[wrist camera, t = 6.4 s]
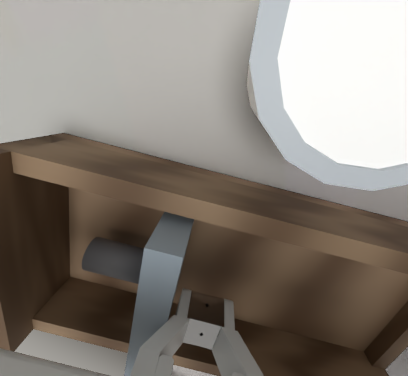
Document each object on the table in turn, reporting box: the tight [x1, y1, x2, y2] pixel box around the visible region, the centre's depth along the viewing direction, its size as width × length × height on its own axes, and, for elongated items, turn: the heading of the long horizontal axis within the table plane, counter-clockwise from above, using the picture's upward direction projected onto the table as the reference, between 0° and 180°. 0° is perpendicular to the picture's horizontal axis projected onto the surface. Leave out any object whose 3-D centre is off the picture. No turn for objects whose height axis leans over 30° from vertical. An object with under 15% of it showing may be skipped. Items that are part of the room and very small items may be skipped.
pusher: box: [82, 212, 194, 376], centre depth 12 cm, size 6×9×5 cm, turn 166°
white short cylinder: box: [247, 0, 408, 191], centre depth 8 cm, size 7×7×7 cm
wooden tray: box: [0, 133, 408, 376], centre depth 13 cm, size 26×12×6 cm, turn 76°
